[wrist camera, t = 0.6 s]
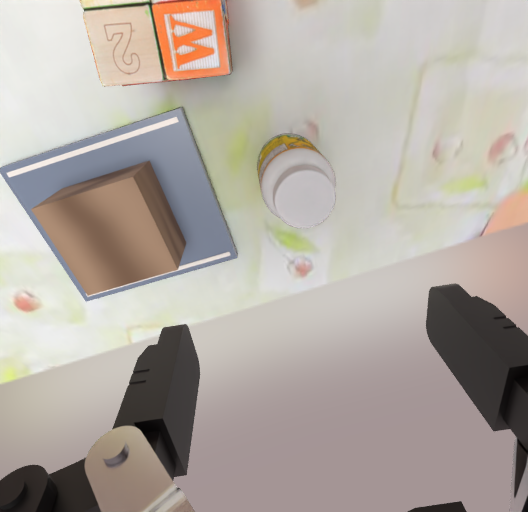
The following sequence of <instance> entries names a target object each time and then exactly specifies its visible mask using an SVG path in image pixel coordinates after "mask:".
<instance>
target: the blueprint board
mask: <svg viewBox="0 0 528 512" xmlns="http://www.w3.org/2000/svg"><path fill="white" fill-rule="evenodd" d="M146 161H150V163H151V165H152V167H153V170H154V172H155V174H156V176H157V179H158V181H159V183H160V185H161V187H162V190H163V192H164V194H165V196H166V199H167V201H168V203H169V205H170V207H171V210H172V212H173V214H174V216H175V219H176V221H177V223H178V225H179V227H180V230H181V232H182V234H183V236H184V239H185V241H186V246H185V249H184V252H183V255H182V258H181V262H180V265H179V268H178V270H175V271H172V272H168V273H165V274H161V275H158V276H155V277H151V278H148V279H144V280H141V281H137V282H134V283H130V284H127V285H124V286H120V287H117V288H113V289H110V290H106V291H103V292H99V293H96V294H93V295H89V296H88V295H87V294H86V292H85V291H84V289H83V288H82V286H81V285H80V283H79V282H78V280H77V279H76V277H75V276H74V274H73V273H72V271H71V270H70V268H69V266H68V265H67V263H66V262H65V260H64V259H63V257H62V256H61V254H60V253H59V251H58V250H57V248H56V247H55V245H54V244H53V242H52V241H51V239H50V238H49V236H48V234H47V233H46V231H45V230H44V228H43V227H42V225H41V224H40V222H39V221H38V219H37V218H36V216H35V215H34V213H33V212H32V210H31V209H32V208H33V207H35V206H36V205H38V204H39V203H41V202H42V201H44V200H45V199H47V198H48V197H50V196H51V195H53V194H54V193H56V192H57V191H59V190H60V189H62V188H65V187H68V186H71V185H74V184H77V183H81V182H84V181H87V180H90V179H93V178H96V177H99V176H102V175H105V174H109V173H112V172H115V171H118V170H121V169H124V168H127V167H130V166H133V165H137V164H140V163H143V162H146ZM0 173H1V175H2V176H3V178H4V179H5V181H6V182H7V184H8V185H9V187H10V188H11V190H12V191H13V193H14V194H15V196H16V197H17V199H18V200H19V202H20V203H21V205H22V206H23V208H24V209H25V211H26V212H27V214H28V215H29V217H30V218H31V220H32V221H33V223H34V224H35V226H36V227H37V229H38V230H39V232H40V233H41V235H42V236H43V238H44V239H45V241H46V242H47V244H48V245H49V247H50V248H51V250H52V251H53V253H54V254H55V256H56V257H57V259H58V260H59V262H60V263H61V265H62V266H63V268H64V269H65V271H66V272H67V274H68V275H69V277H70V278H71V280H72V281H73V283H74V284H75V286H76V287H77V289H78V290H79V292H80V293H81V295H82V296H83V298H84V299H85V301H90V300H93V299H97V298H100V297H104V296H107V295H110V294H114V293H117V292H121V291H124V290H128V289H131V288H135V287H138V286H142V285H145V284H149V283H152V282H155V281H159V280H162V279H166V278H169V277H173V276H176V275H180V274H183V273H187V272H190V271H193V270H197V269H200V268H204V267H207V266H211V265H214V264H218V263H221V262H225V261H228V260H232V259H235V258H237V251H236V248H235V246H234V243H233V240H232V238H231V235H230V232H229V230H228V227H227V224H226V222H225V219H224V216H223V214H222V211H221V208H220V206H219V203H218V201H217V198H216V195H215V193H214V190H213V187H212V185H211V182H210V179H209V177H208V174H207V171H206V169H205V166H204V163H203V161H202V158H201V156H200V153H199V150H198V148H197V145H196V142H195V140H194V137H193V134H192V132H191V129H190V126H189V124H188V121H187V118H186V116H185V113H184V110H183V108H182V107H180V108H177V109H174V110H171V111H168V112H165V113H162V114H159V115H156V116H153V117H150V118H147V119H144V120H141V121H138V122H135V123H132V124H129V125H126V126H123V127H120V128H117V129H114V130H111V131H108V132H105V133H102V134H99V135H96V136H93V137H90V138H87V139H84V140H81V141H78V142H75V143H72V144H69V145H66V146H63V147H60V148H57V149H54V150H51V151H48V152H45V153H42V154H39V155H36V156H33V157H30V158H27V159H24V160H21V161H18V162H15V163H12V164H9V165H6V166H3V167H1V168H0Z"/></svg>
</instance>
